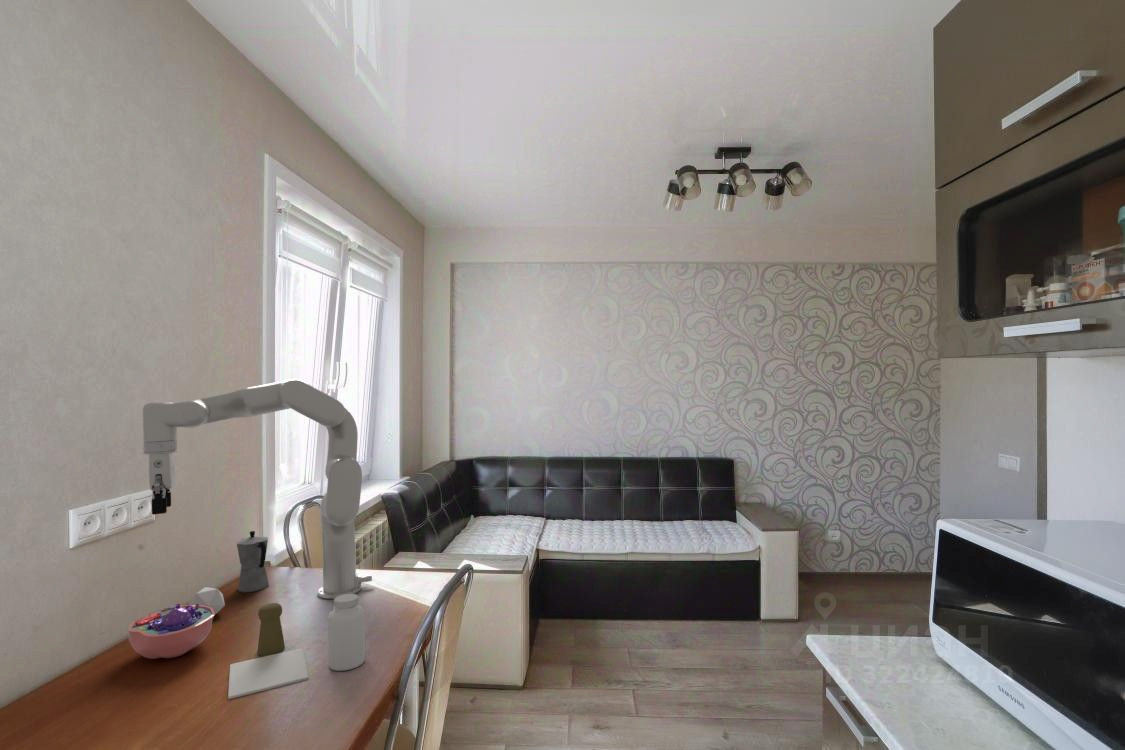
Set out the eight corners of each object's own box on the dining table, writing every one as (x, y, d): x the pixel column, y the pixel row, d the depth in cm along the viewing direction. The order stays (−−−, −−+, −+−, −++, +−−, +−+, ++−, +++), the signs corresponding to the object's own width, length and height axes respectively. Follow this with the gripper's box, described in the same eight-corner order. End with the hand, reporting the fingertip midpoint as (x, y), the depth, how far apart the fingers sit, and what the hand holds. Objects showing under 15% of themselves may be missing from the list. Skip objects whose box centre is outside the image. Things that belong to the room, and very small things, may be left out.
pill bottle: (372, 657, 134) (371, 593, 134) (349, 674, 126) (347, 606, 126) (345, 653, 136) (343, 589, 137) (320, 669, 129) (318, 602, 129)
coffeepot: (229, 587, 184) (227, 531, 184) (259, 579, 192) (258, 525, 192) (250, 597, 175) (248, 538, 175) (281, 588, 182) (280, 531, 182)
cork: (263, 645, 142) (262, 600, 142) (289, 643, 142) (287, 599, 142) (252, 657, 136) (251, 610, 136) (279, 655, 136) (277, 608, 136)
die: (232, 616, 162) (228, 583, 167) (213, 611, 155) (210, 577, 160) (203, 628, 162) (201, 595, 166) (183, 624, 154) (181, 590, 159)
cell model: (202, 629, 152) (201, 586, 153) (223, 653, 138) (222, 606, 138) (122, 651, 141) (121, 605, 141) (136, 680, 126) (135, 629, 126)
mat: (301, 650, 139) (301, 648, 139) (307, 679, 125) (307, 676, 125) (230, 666, 131) (230, 664, 131) (228, 699, 117) (228, 696, 117)
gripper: (173, 449, 151) (174, 514, 150) (180, 443, 166) (181, 503, 166) (138, 451, 147) (139, 518, 147) (148, 445, 162) (149, 506, 162)
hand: (161, 510), depth 156 cm, fingers open, 9 cm apart
